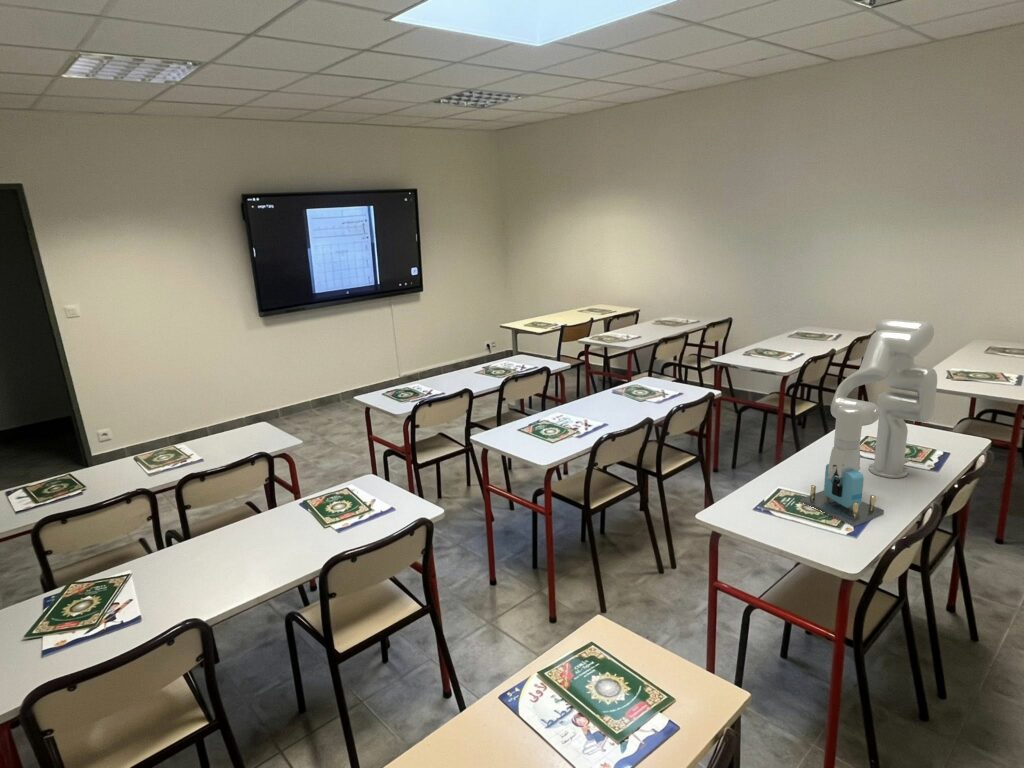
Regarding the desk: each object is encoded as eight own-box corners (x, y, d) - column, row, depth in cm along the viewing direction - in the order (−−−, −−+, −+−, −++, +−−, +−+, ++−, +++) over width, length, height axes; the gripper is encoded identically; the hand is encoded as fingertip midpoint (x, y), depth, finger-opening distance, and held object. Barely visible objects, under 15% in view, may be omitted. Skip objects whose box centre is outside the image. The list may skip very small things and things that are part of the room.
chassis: (828, 492, 219) (830, 475, 217) (883, 514, 201) (885, 496, 200) (800, 503, 212) (801, 485, 210) (854, 526, 195) (856, 508, 193)
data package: (861, 507, 201) (864, 473, 198) (849, 509, 200) (852, 476, 197) (834, 492, 212) (837, 460, 209) (823, 494, 211) (825, 462, 208)
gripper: (853, 434, 207) (848, 482, 212) (819, 445, 200) (815, 495, 205) (874, 440, 201) (869, 490, 206) (840, 452, 193) (835, 504, 198)
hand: (842, 492), depth 205 cm, fingers closed on data package, 5 cm apart
